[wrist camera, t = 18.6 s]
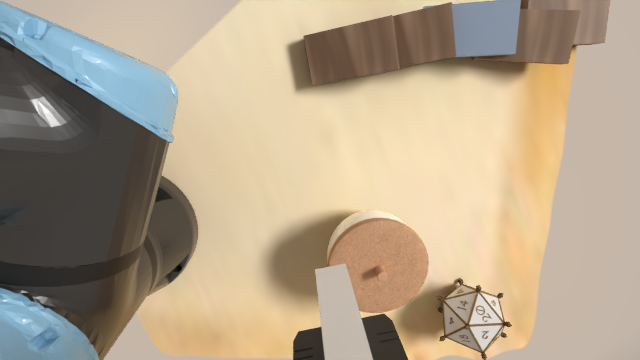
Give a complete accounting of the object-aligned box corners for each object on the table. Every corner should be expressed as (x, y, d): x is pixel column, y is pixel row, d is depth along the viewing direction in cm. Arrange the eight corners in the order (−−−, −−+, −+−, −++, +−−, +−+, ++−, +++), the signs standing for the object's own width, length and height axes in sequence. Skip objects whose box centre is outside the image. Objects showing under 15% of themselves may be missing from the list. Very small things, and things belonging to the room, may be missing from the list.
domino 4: (475, 58, 39) (568, 63, 38) (483, 7, 38) (580, 10, 36) (472, 59, 41) (560, 64, 40) (480, 11, 40) (572, 13, 38)
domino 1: (312, 85, 39) (398, 69, 36) (303, 35, 38) (391, 15, 35) (317, 84, 41) (400, 68, 38) (309, 37, 40) (393, 17, 37)
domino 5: (524, 47, 40) (604, 42, 40) (528, -4, 39) (611, -8, 39) (514, 48, 42) (590, 44, 42) (517, 0, 41) (596, -3, 41)
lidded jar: (304, 237, 45) (306, 275, 36) (370, 180, 44) (390, 205, 35) (359, 292, 48) (374, 341, 39) (424, 240, 47) (455, 278, 38)
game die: (433, 283, 53) (415, 297, 44) (494, 265, 49) (488, 277, 40) (458, 348, 50) (445, 376, 42) (524, 334, 47) (524, 363, 38)
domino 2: (366, 74, 39) (456, 56, 36) (358, 24, 38) (451, 2, 35) (369, 73, 41) (455, 56, 38) (362, 25, 40) (450, 4, 37)
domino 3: (424, 10, 40) (516, 2, 37) (422, 58, 41) (511, 54, 38) (423, 6, 38) (521, -2, 35) (421, 57, 39) (515, 53, 37)
